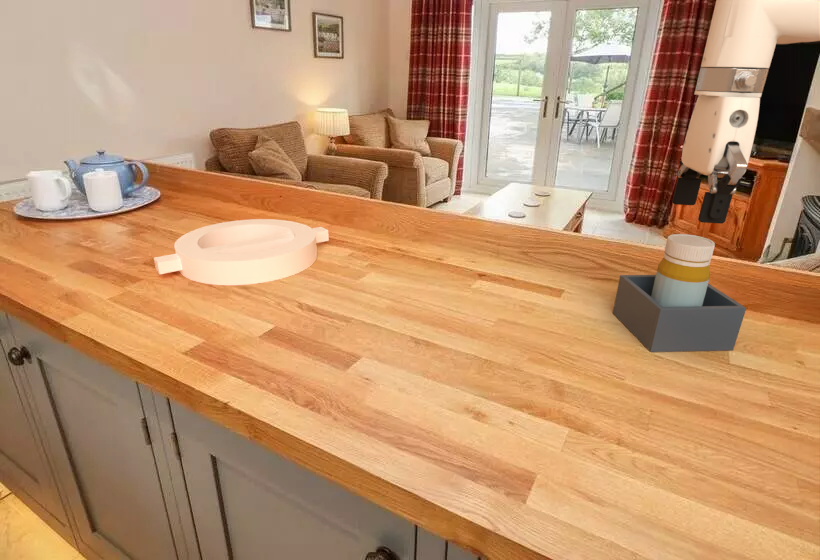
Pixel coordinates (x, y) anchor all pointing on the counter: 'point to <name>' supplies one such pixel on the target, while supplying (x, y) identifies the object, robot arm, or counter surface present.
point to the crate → (677, 318)
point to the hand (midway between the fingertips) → (696, 212)
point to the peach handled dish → (244, 252)
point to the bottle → (683, 271)
